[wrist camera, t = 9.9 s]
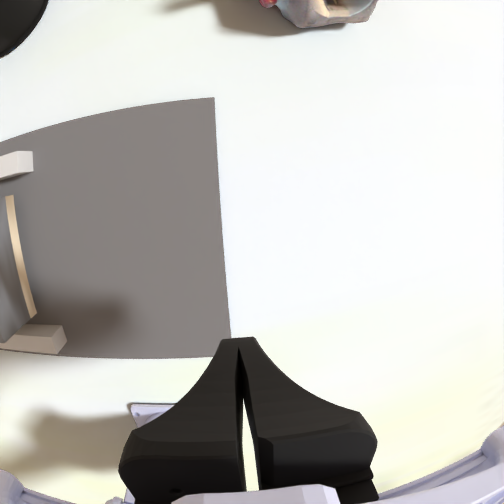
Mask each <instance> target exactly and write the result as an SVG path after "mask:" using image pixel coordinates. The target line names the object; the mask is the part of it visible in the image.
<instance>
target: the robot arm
mask: <svg viewBox="0 0 504 504" xmlns="http://www.w3.org/2000/svg"><path fill="white" fill-rule="evenodd" d="M243 399H244V404H245V408H246V413H247V417H248V422H249V426H250V430H251V435H252V439H253V445H254V451H255V460H256V468H257V476H258V484H259V491H248V492H247V489H246V480H245V470H244V459H243V448H242V429H243ZM130 410H131V412H132V415H133V417H134V420H135V422H136V425H137V427H138V428H137V429H135V430H132V432H131V434H130V436H129V438H128V440H127V442H126V444H125V447H124V449H123V453H122V456H121V460H120V464H119V470H118V472H119V475H120V477H121V479H122V481H123V482H124V484H125V485H126V487H127V489H126V493H125V498H124V502H123V499H122V498H119V497H114V498H113V499H111V500H108V501H107V502H106V503H105V504H502V503H503V502H504V425H503V426H502V427H500V428H498V429H497V430H495V431H493V432H492V433H491V434H490V435H489V436H488V437H487V438H486V439H485V441H484V442H483V444H482V446H481V449H479V450H477V451H476V452H474V453H472V454H470V455H468V456H467V457H465V458H463V459H461V460H459V461H457V462H455V463H453V464H451V465H449V466H447V467H445V468H443V469H440V470H438V471H436V472H434V473H432V474H429V475H427V476H425V477H422V478H420V479H417V480H415V481H413V482H410V483H407V484H405V485H402V486H399V487H397V488H394V489H391V490H388V491H385V492H382V493H379V494H378V493H377V491H376V489H375V486H374V484H373V482H372V480H371V479H373V473H372V471H371V468H370V465H371V462H372V459H373V457H374V454H375V451H376V448H377V439H376V436H375V434H374V432H373V430H372V428H371V427H370V425H369V424H368V423H367V421H366V420H365V419H364V417H363V416H362V415H361V414H360V412H357V411H354V410H350V409H347V408H344V407H341V406H338V405H335V404H333V403H330V402H328V401H325V400H323V399H321V398H319V397H317V396H315V395H314V394H312V393H310V392H308V391H306V390H305V389H303V388H302V387H300V386H299V385H298V384H296V383H295V382H294V381H292V380H291V379H290V378H289V377H287V376H286V375H285V374H284V373H283V372H282V371H281V370H280V369H279V368H278V367H277V366H276V365H275V364H274V363H273V362H272V361H271V359H270V358H269V357H268V356H267V355H266V353H265V352H264V351H263V349H262V348H261V347H260V345H259V344H258V342H257V340H256V339H255V338H254V337H243V338H230V339H222V340H221V341H220V343H219V346H218V349H217V351H216V353H215V355H214V357H213V358H212V360H211V362H210V364H209V365H208V367H207V369H206V370H205V371H204V373H203V374H202V376H201V377H200V379H199V380H198V381H197V382H196V384H195V385H194V386H193V387H192V388H191V389H190V391H189V392H188V393H187V394H186V395H185V396H184V397H183V398H182V399H181V400H180V401H178V402H177V403H176V404H175V405H150V404H133V405H131V408H130ZM136 412H137V413H136ZM0 504H75V503H71V502H67V501H64V500H60V499H57V498H54V497H50V496H47V495H44V494H41V493H38V492H35V491H33V490H30V489H27V488H25V487H24V486H23V485H22V483H21V482H20V481H19V480H18V479H17V478H16V477H15V476H14V475H12V474H11V473H9V472H7V471H4V470H2V469H0Z"/></svg>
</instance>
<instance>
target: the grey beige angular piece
mask: <svg viewBox="0 0 504 504" xmlns="http://www.w3.org/2000/svg"><path fill="white" fill-rule="evenodd" d="M15 210H16V208H15V205H14V197H13V195H10V196H5V197H0V343H6V342H7V341H8V340H9V339H10V338H11V337H12V336H13V335H14V334H15V333H16V332H17V331H18V330H19V329H20V328H21V327H22V326H23V325H25V324H26V323H27V322H28V321H29V320H30V319H31V318H32V317H33V316H34V315H35V314H37V312H36V308H35V305H34V301H33V295H32V293H31V290H30V286H29V282H28V278H27V274H26V270H25V265H24V261H23V256H22V251H21V245H20V240H19V234H18V228H17V221H16V214H15Z"/></svg>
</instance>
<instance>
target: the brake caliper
mask: <svg viewBox="0 0 504 504" xmlns="http://www.w3.org/2000/svg"><path fill="white" fill-rule="evenodd" d="M377 1H378V0H259V2H260V3H261V5H262V6H263V7H265V8H269V7H272V6H274V5H276V6H277V7H278V8H279V9H280V11H281V14H282V16H283V17H284V18H285V19H287V20H289V21H291V22H292V23H294V25H295V26H297V27H300V28H310V27H318V26H324V25H329V24H333V23H360V22H366V21H367V20H368V19H369V17H370V15H371V14H372V12H373V10H374V8H375V6H376V3H377Z"/></svg>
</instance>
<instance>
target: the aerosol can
mask: <svg viewBox="0 0 504 504" xmlns="http://www.w3.org/2000/svg"><path fill="white" fill-rule="evenodd" d="M47 4H48V0H0V57H1V56H4V55H6V54H7V53H9V52H11V51H12V50H13V49H15V48H16V47H17V46H18V45H19V44H20V43H21V42H23V41H24V39H25V38H26V37H27V36H28V35H29V34H30V33H31V32H32V30H33V29H34V28H35V26H36V25H37V23H38V22H39V20H40V19H41V17H42V15H43V13H44V11H45V9H46V6H47Z"/></svg>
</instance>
